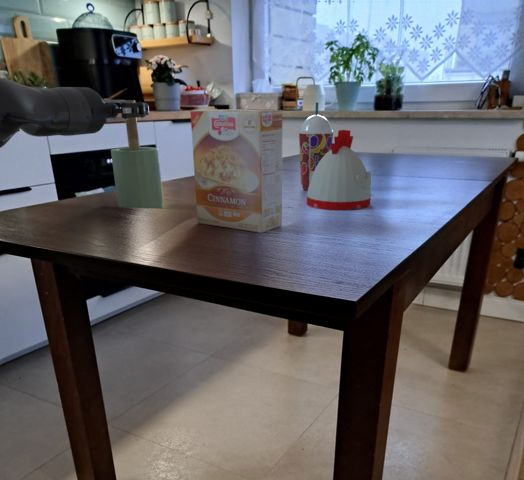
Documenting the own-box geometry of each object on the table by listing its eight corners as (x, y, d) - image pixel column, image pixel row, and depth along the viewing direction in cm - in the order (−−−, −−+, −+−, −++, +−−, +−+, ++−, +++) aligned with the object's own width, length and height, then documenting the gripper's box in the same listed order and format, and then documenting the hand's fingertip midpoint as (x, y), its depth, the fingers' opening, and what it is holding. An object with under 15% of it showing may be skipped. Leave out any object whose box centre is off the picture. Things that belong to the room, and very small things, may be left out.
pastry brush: (129, 205, 109) (116, 100, 101) (136, 202, 113) (124, 100, 104) (144, 205, 109) (133, 100, 100) (151, 202, 112) (141, 100, 103)
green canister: (110, 212, 108) (102, 151, 103) (131, 203, 116) (124, 146, 111) (152, 213, 106) (146, 151, 101) (170, 205, 114) (165, 147, 109)
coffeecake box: (196, 223, 98) (188, 109, 89) (219, 216, 103) (214, 108, 94) (261, 233, 90) (260, 110, 81) (283, 225, 95) (284, 109, 86)
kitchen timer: (380, 202, 115) (387, 129, 108) (352, 212, 105) (357, 133, 99) (326, 196, 123) (329, 127, 116) (294, 205, 113) (296, 130, 106)
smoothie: (327, 192, 127) (331, 102, 118) (294, 191, 129) (295, 102, 120) (333, 187, 134) (337, 102, 125) (301, 186, 136) (303, 102, 127)
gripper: (44, 134, 93) (102, 129, 107) (108, 135, 88) (161, 130, 101) (36, 87, 90) (97, 88, 103) (102, 86, 85) (157, 87, 98)
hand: (129, 109), depth 102 cm, fingers open, 8 cm apart
